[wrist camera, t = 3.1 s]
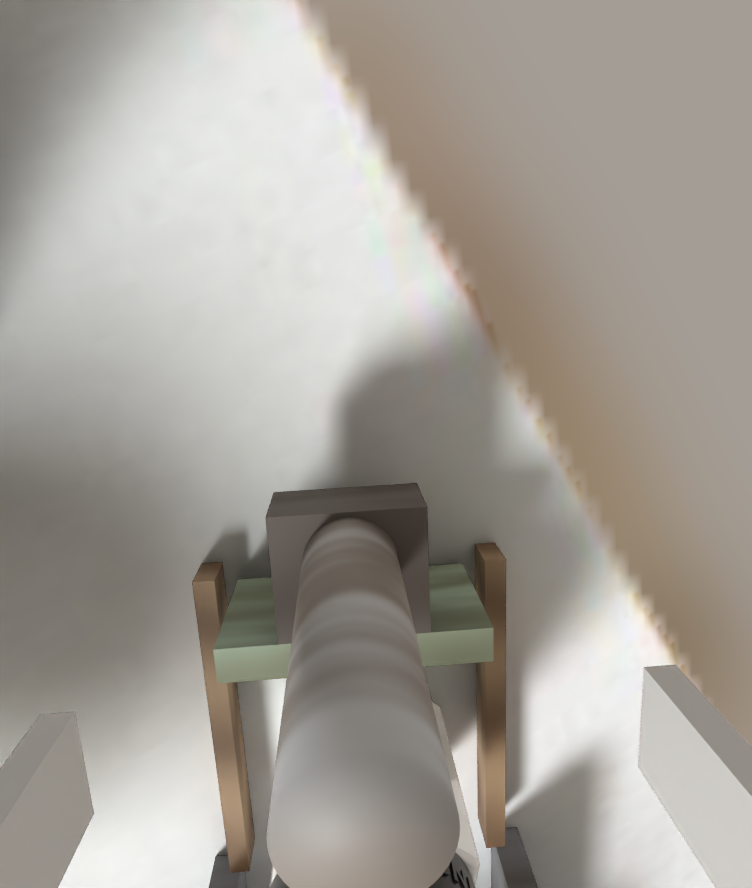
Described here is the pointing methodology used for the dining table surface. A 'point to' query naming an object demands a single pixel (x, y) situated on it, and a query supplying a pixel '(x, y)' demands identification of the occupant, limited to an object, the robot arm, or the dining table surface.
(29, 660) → the dining table surface
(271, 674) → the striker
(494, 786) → the lane
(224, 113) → the dining table surface
